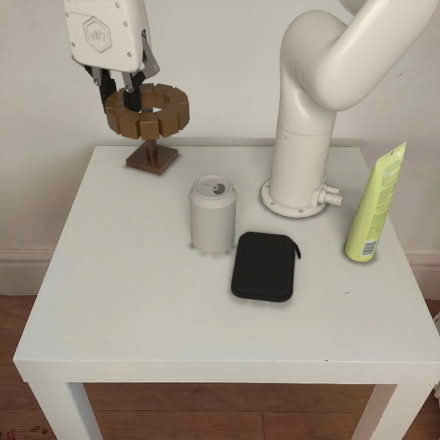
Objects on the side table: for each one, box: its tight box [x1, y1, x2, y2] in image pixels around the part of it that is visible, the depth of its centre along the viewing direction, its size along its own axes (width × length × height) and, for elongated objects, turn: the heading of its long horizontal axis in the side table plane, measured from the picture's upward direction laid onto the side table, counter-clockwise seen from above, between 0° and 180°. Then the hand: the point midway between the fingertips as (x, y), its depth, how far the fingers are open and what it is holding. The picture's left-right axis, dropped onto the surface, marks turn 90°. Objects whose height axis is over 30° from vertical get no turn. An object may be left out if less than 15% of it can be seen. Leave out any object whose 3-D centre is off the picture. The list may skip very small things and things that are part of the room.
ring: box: [105, 82, 191, 141], centre depth 65 cm, size 12×12×3 cm
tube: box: [344, 141, 408, 263], centre depth 71 cm, size 6×5×20 cm
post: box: [125, 108, 179, 176], centre depth 91 cm, size 8×8×12 cm
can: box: [188, 174, 237, 255], centre depth 75 cm, size 8×8×12 cm
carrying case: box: [230, 230, 302, 304], centre depth 73 cm, size 11×3×15 cm
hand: (122, 111), depth 67 cm, fingers closed on ring, 3 cm apart
